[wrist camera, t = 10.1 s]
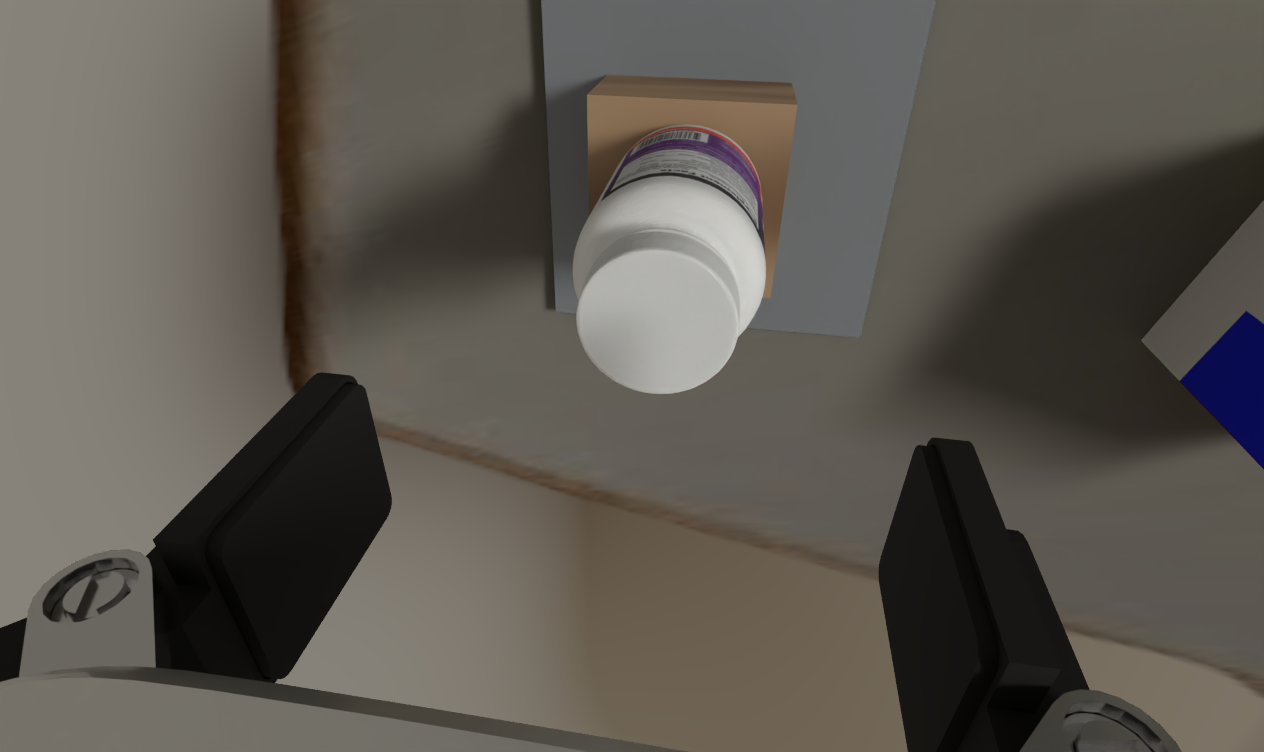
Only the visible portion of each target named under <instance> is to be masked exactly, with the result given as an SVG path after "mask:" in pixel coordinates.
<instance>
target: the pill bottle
mask: <svg viewBox="0 0 1264 752" xmlns="http://www.w3.org/2000/svg"><path fill="white" fill-rule="evenodd" d="M765 281H766V257H765V243H764V227H763V200H762V191H761V185H760V181H759V177H758V174H757V172H756V169H755V167H754V165H753V163H752V162H751V160H750V158H749V157H748V155H747V154H746V153H745V152H744V151H743V149H742V148H741V147H740V146H739V145H738V144H737V143H736V142H734V141H733V140H732V139H731V138H729V137H728V136H726V135H724V134H723V133H720V132H718V131H716V130H714V129H711V128H708V127H704V126H699V125H691V124H681V125H672V126H668V127H664V128H661V129H658V130H656V131H654V132H652V133H650V134H648V135H647V136H645V137H643V138H642V139H641V140H640V141H638V142H637V143H636V144H635V145H634V146H633V147H632V148H631V149H630V150H629V151H628V152H627V153H626V155H625V156H624V157H623V159H622V160H621V162H620V163H619V165H618V167H617V168H616V170H615V172H614V173H613V175H612V177H611V179H610V181H609V182H608V184H607V186H606V188H605V189H604V191H603V193H602V195H601V197H600V198H599V200H598V202H597V204H596V205H595V207H594V209H593V210H592V212H591V214H590V216H589V217H588V219H587V221H586V223H585V225H584V227H583V229H582V231H581V233H580V236H579V239H578V242H577V245H576V248H575V252H574V258H573V282H574V287H575V292H576V295H577V298H578V305H577V313H576V321H577V330H578V335H579V338H580V340H581V343H582V345H583V348H584V350H585V351H586V353H587V355H588V356H589V358H590V359H591V361H592V362H593V363H594V364H595V365H596V366H597V367H598V368H599V370H600V371H602V372H603V373H604V374H605V375H607V376H608V377H610V378H611V379H612V380H614V381H615V382H617V383H619V384H621V385H623V386H625V387H628V388H630V389H633V390H636V391H640V392H645V393H653V394H670V393H677V392H682V391H686V390H689V389H692V388H695V387H697V386H698V385H700V384H702V383H704V382H706V381H708V380H709V379H710V378H711V377H713V376H714V375H715V374H717V373H718V372H719V371H720V370H721V368H722V367H723V366H724V365H725V363H726V362H727V361H728V359H729V358H730V356H731V354H732V352H733V350H734V348H735V345H736V341H737V338H738V337H739V336H740V335H741V333H742V332H743V331H744V330H745V329H746V328H747V326H748V325H749V324H750V322H751V320H752V319H753V317H754V315H755V313H756V311H757V310H758V308H759V305H760V303H761V300H762V297H763V293H764V288H765Z"/></svg>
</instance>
